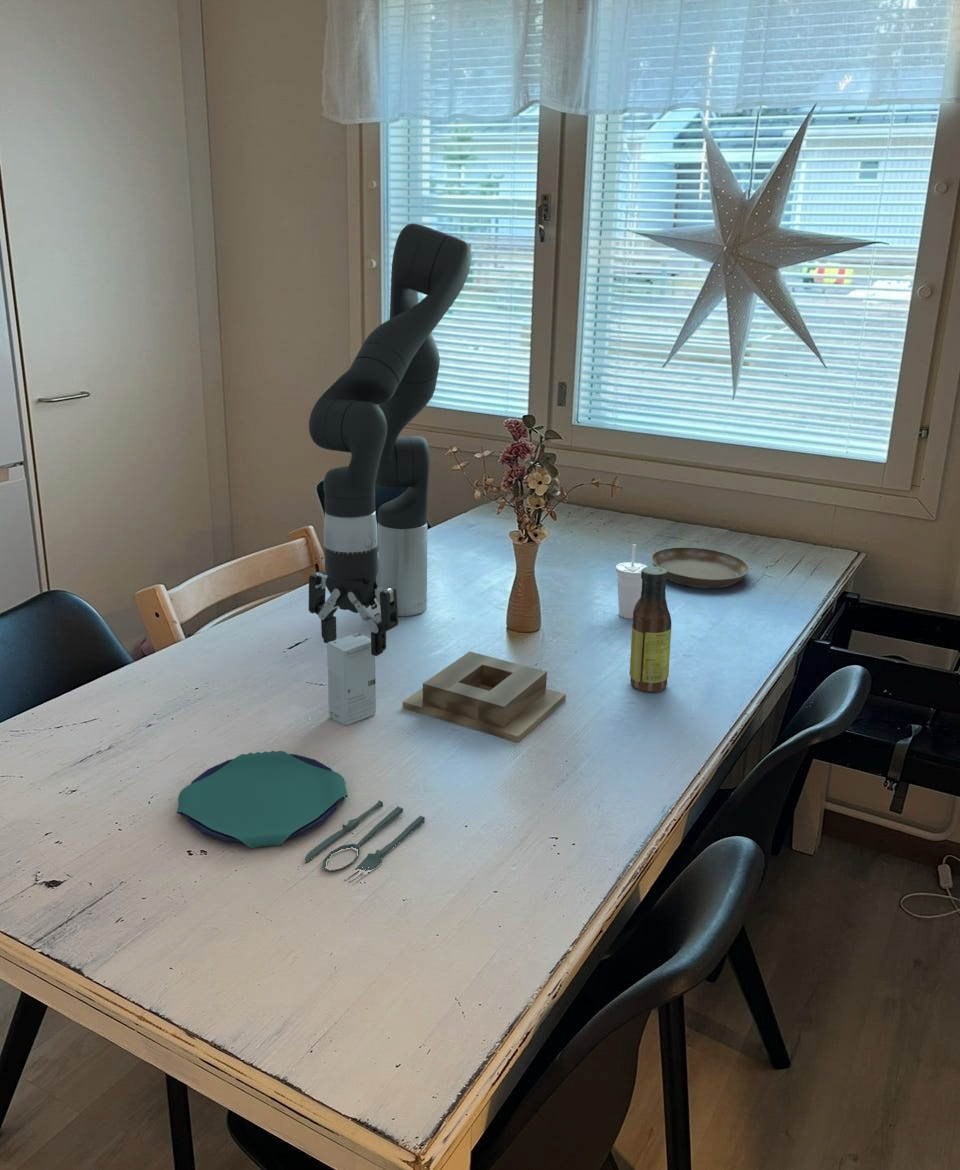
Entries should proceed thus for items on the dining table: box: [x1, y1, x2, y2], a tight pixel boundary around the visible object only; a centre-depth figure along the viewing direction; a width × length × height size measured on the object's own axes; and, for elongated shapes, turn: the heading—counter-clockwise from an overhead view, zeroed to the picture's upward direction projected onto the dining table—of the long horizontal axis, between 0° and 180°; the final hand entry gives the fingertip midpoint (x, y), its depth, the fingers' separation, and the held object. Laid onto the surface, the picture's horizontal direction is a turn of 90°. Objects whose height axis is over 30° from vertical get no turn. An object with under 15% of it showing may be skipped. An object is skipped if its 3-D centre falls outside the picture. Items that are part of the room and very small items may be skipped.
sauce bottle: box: [629, 566, 672, 693], centre depth 157 cm, size 7×6×20 cm
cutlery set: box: [176, 750, 426, 874], centre depth 123 cm, size 20×30×2 cm, turn 58°
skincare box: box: [326, 632, 377, 726], centre depth 146 cm, size 6×4×12 cm
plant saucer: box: [650, 546, 750, 589], centre depth 211 cm, size 21×21×3 cm
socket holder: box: [402, 651, 567, 743], centre depth 152 cm, size 20×16×4 cm
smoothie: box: [615, 543, 649, 620], centre depth 186 cm, size 6×6×14 cm
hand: (353, 647), depth 144 cm, fingers open, 8 cm apart
